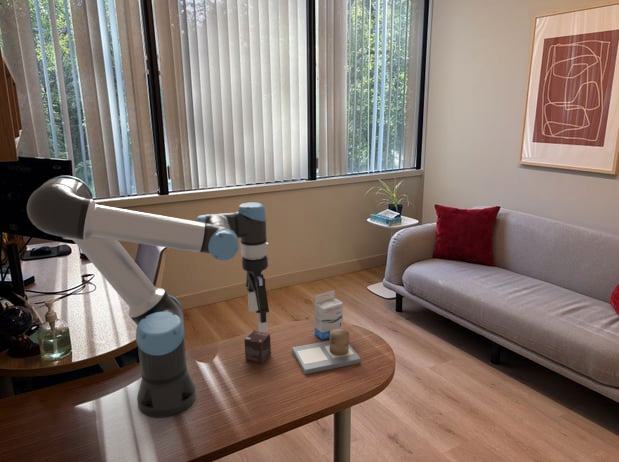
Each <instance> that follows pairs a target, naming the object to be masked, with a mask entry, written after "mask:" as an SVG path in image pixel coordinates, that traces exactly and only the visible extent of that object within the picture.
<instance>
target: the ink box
mask: <svg viewBox="0 0 619 462" xmlns="http://www.w3.org/2000/svg"><path fill="white" fill-rule="evenodd" d="M335 295H336V290H335V289H333V290H330V291H326V292H323V293H318V294H316V295H315V300H314V301H315V303H314V336H316V337H317V338H319V339H321V340H322V341H323V340H326V339H330V332H331V331H332V330H334V329H343V312H344V311H343V307H344V304H343V303H344V302H342V301H340V300H339V299H337V298H335Z"/></svg>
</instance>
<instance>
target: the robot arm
mask: <svg viewBox="0 0 619 462" xmlns="http://www.w3.org/2000/svg"><path fill="white" fill-rule="evenodd" d="M93 198H94V197H93V193H92V191H91V188H90V186H89V185H88V184H87V183H86V182H85V181H84V180H82V179H80V178H78V177H75V176H71V175H59V176H55V177H53V178H50V179H48V180H47V181H45V182H44V183H43V184H42V185H41V186H39V187H38V188H37V189H36V190H34V191H33V192H32V193H31V195H30V196H29V198H28V200H27V204H26V213H27V217H28V219H29V221H30V222H31V223H32V225H34V226H35V228H37V229H38V230H40V231H41V232H44V234H45V233H46V234H48V235H51V236H52V235H53V236H56V237H60V238H62V239H63V240H69V241H70V240H72V241H73V243H74V244H76V246H77V247H78V249H80V250H81V252H82V253H83V254H84V256H86V257H87V259H88V260H89V261H90V262H91V263H92V265H93V266H94V267H95V268H96V269H97V271H98V272H99V273H100V274H101V275H102V277H103V278H104V279H105V280H106V282H107V283H108V284H109V285H110V287H112V288H113V290H114V291H115V292H116V293H117V294H118V295H119V297H120V298H121V299H122V300H123V302H125V304H126V305H127V306H128V307H129V309H128V316H129V317H130V319H131V320H132V321H133V322H134V323H135V324H136V328H135V341H136V344H137V350H138V351H137V352H138V358H139V366H140V367H139V368H140V373H141V374H140V375H141V380H140V385H139V389H138V393H137V396H136V398H137V399H136V400H137V406H138V407H137V408H138V410H139V411H140V412H141V414H143V415H145V416H148V417H151V418H166V417H172V416H175V415H177V414H180V413H182V412H184V411H185V410H187V409H188V408H190V406H192V405H193V403H194V402H195V401H196V397H197V391H196V390H197V389H196V385H195V384H196V383H194V380H193V379H192V376H191V374H190V373H189V370H188V365H187V355H186V343H185V327H184V326H185V323H184V319H185V317H184V316H185V314H184V311H183V307H182V305H181V303H180V301H178V299H177V298H176V297H174V296H173V295H170V294H169V293H167V291H166V290H165V289H164V288H162V287H156V286H155V285H154V284H153V282H152V281H151V280H150V279H149V278H148V276H147V275H146V274H145V272H144V271H143V270H142V269H141V268H140V266H139V265H138V264H137V262H136V261H135V260H134V258H133V257H132V256H131V255H130V254H129V252H128V251H127V250H126V248H124V246H123V245H122V244H121V243H120V242H127V243H128V242H129V243H134V244H141V245H148V246H155V247H163V248H169V249H175V250H180V251H181V250H182V251H188V252H195V253H203V254H208V255H210V256H211V257H213V258H215V259H216V260H218V261H228V260H231V259H232V258H234V257H235V256H236V255H237V253H238V252H239V249H240V255H241V268H242V270H244V271H245V272H246V278H245V287H246V290H247V301H248V302H247V303H248V312H249V313H250V312H255V314H257V329H258V330H257V331H258V332H263V333H265V332H268V331H269V325H268V324H269V322H268V320H269V319H268V313H270V309H269V303H268V296H267V295H268V294H267V288H266V279H265V277H264V274H262V273H263V271H265V270H266V269H268V266H269V263H268V262H269V261H268V259H269V258H268V246H270V245H269V242H268V241H267V218H266V217H267V216H266V207H265V205H264V204H262V202H261V203H260V202H256V201H254V202H252V201H251V202H250V201H249V202H244V203H241V204H239V206H238V209H237V210H238V211H234V212H223V213H222V212H221V213H207V214H201V215H198V216H196V220H190V219H184V218H180V217H179V218H178V217H173V216H166V215H161V214H154V213H148V212H142V211H137V210H130V209H124V208H119V207H113V206H106V205H101V204H97V203H96V201H95V200H94V199H93ZM239 239H240V244H239Z"/></svg>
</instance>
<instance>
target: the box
mask: <svg viewBox="0 0 619 462" xmlns="http://www.w3.org/2000/svg"><path fill="white" fill-rule="evenodd" d="M243 339H244V353H245V355H244V356H245V360H246V361H251V362H256V363H259V364H263V363H264V362H265V361H266V360H267V359H268V358H269V357H270V356H271V354H272V347H271V345H272V344H271V334H269V333H266V332H259V331H258V330H253V331H252V332H251V333H250V334H248V336H246V337H245V338H243Z"/></svg>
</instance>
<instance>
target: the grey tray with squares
mask: <svg viewBox="0 0 619 462" xmlns="http://www.w3.org/2000/svg"><path fill="white" fill-rule="evenodd" d="M291 352H292V353H293V356H294V357H295V359H296V360H297V362H298V365H299V366H300V367H301V370H302V372H303V373H304V375H308V374H312V373H317V372H322V371H328V370H333V369H336V368H337V369H338V368H342V367H347V366H351V365H357V364H361V363H362V361H361V360H362V359H361V357H360V356H359V354H358V352H356V351H355V349H353V347H352V346H351V345H350V344H349V352H348V353H347V354H346V355H342V356H337V355H334V354H332V353H331V352H330V339H329V340H325V341H320V342H315V343H308V344H304V345H303V344H302V345H299V346H292V348H291Z"/></svg>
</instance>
